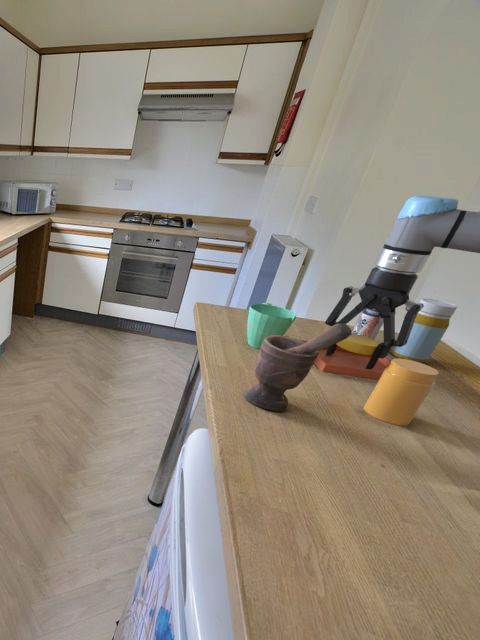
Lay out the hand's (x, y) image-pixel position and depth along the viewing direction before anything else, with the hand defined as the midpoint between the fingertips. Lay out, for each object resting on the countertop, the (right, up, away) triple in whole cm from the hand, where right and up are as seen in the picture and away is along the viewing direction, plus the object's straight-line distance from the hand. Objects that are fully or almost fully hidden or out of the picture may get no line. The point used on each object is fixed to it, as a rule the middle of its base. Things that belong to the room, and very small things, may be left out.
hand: (348, 360), depth 100 cm
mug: (-16, +4, +9) cm, 19 cm away
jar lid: (0, +5, -2) cm, 5 cm away
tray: (0, -1, 0) cm, 1 cm away
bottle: (+20, 0, +5) cm, 21 cm away
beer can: (+12, +3, +11) cm, 17 cm away
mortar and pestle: (-32, -8, -19) cm, 38 cm away
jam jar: (-11, -10, -20) cm, 25 cm away
